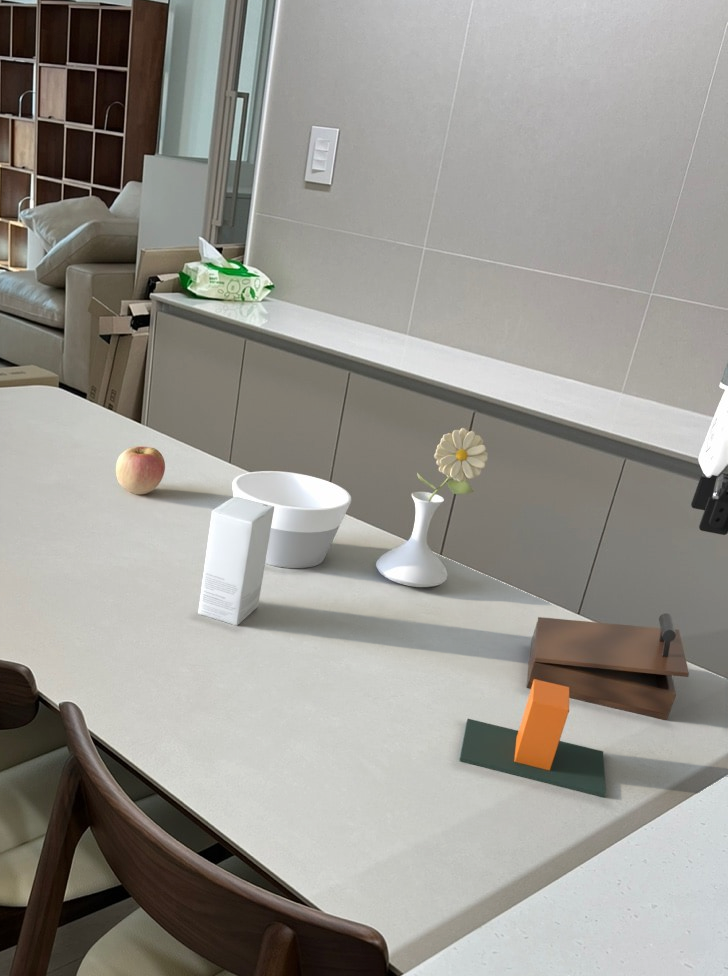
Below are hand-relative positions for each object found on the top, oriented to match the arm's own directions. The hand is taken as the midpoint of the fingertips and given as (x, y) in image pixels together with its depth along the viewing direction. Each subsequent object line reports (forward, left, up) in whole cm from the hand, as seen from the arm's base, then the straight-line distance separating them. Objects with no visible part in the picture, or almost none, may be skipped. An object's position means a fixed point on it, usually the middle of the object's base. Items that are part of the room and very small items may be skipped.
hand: (707, 520), depth 131 cm
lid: (+6, 0, -19) cm, 20 cm away
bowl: (+56, -23, -24) cm, 66 cm away
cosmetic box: (+57, +5, -24) cm, 63 cm away
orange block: (+14, +26, -24) cm, 38 cm away
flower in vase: (+34, -23, -24) cm, 48 cm away
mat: (+14, +26, -24) cm, 38 cm away
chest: (+7, 0, -24) cm, 25 cm away
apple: (+87, -38, -24) cm, 98 cm away
